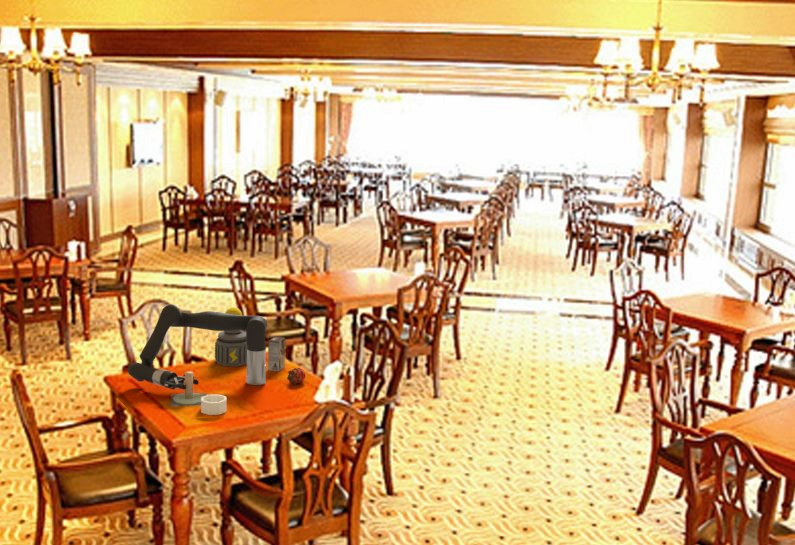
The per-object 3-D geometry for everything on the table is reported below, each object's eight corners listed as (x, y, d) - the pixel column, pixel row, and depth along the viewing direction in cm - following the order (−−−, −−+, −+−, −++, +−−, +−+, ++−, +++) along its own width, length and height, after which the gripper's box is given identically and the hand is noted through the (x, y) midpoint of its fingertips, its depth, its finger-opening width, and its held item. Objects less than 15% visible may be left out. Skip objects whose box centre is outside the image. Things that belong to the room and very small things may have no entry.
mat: (206, 394, 407) (206, 393, 406) (206, 406, 391) (206, 405, 391) (171, 395, 403) (171, 394, 403) (170, 407, 388) (170, 406, 388)
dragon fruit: (290, 390, 424) (298, 386, 435) (304, 381, 422) (311, 377, 434) (281, 375, 424) (289, 371, 436) (296, 366, 423) (303, 363, 434)
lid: (204, 394, 405) (204, 367, 403) (204, 404, 392) (204, 377, 389) (173, 395, 402) (173, 368, 400) (172, 405, 389) (172, 377, 386)
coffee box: (273, 365, 456) (274, 336, 453) (285, 366, 455) (285, 337, 452) (267, 370, 447) (268, 340, 444) (279, 371, 446) (279, 341, 443)
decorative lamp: (251, 367, 452) (252, 311, 446) (215, 367, 447) (215, 311, 442) (249, 356, 470) (250, 303, 464) (214, 357, 465) (214, 303, 460)
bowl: (225, 406, 392) (226, 394, 391) (226, 415, 381) (226, 402, 380) (201, 407, 389) (201, 394, 388) (201, 416, 379) (201, 403, 378)
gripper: (154, 374, 395) (181, 381, 388) (175, 366, 408) (202, 373, 400) (154, 390, 397) (181, 396, 389) (175, 382, 409) (202, 388, 402)
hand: (191, 384), depth 395 cm, fingers open, 8 cm apart
